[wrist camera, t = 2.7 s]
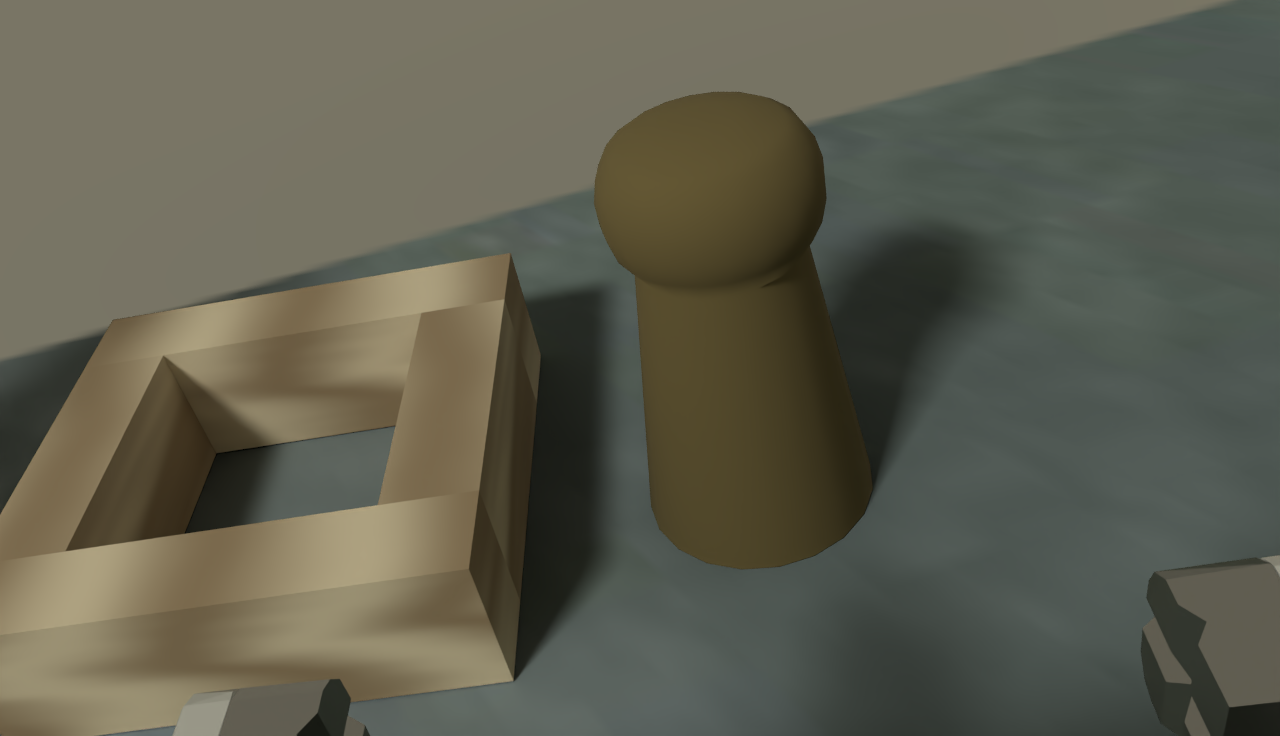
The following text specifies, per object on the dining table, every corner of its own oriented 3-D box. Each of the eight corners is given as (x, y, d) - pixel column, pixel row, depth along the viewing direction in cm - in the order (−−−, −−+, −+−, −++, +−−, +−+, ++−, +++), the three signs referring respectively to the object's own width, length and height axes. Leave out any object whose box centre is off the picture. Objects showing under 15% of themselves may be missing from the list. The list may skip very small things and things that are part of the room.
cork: (642, 434, 35) (557, 90, 28) (846, 395, 35) (809, 38, 28) (661, 589, 30) (564, 218, 23) (898, 544, 30) (868, 156, 23)
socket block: (540, 355, 39) (510, 252, 37) (513, 680, 29) (468, 568, 26) (166, 414, 40) (112, 320, 38) (10, 746, 30) (-76, 645, 28)
